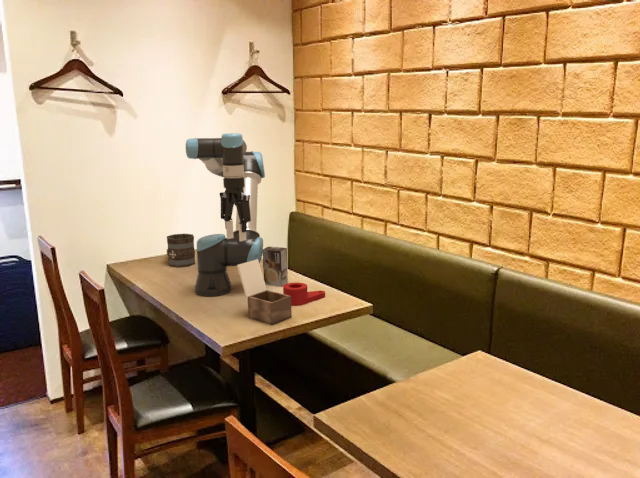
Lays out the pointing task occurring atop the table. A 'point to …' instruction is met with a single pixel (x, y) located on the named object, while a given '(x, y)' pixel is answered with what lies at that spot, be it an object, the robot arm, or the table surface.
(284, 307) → the box
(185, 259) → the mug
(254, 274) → the lid
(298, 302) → the lever
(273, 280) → the coffee box
